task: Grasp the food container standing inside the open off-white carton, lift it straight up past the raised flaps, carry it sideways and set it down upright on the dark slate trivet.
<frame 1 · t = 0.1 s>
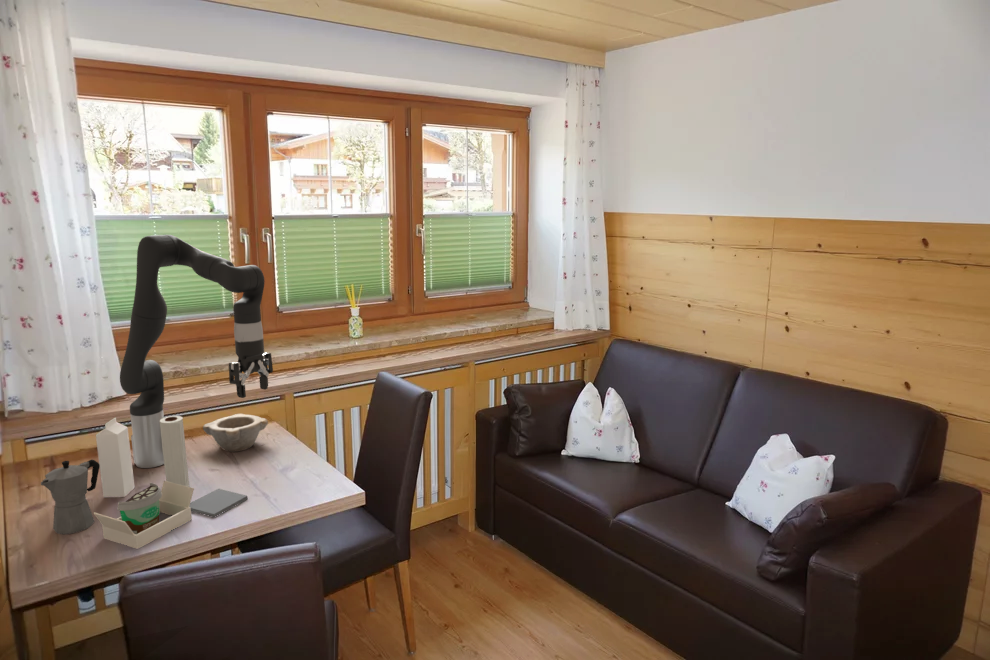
hand: (253, 393, 189), 29 cm above the table, tool pointing down, fingers open, 8 cm apart
food container: (149, 529, 172), resting in carton
paper towel roll: (177, 489, 195), on the table
coffeepot: (78, 524, 174), on the table
mortar: (237, 447, 227), on the table
trivet: (216, 504, 186), on the table
milk: (119, 493, 192), on the table
carton: (149, 528, 172), on the table
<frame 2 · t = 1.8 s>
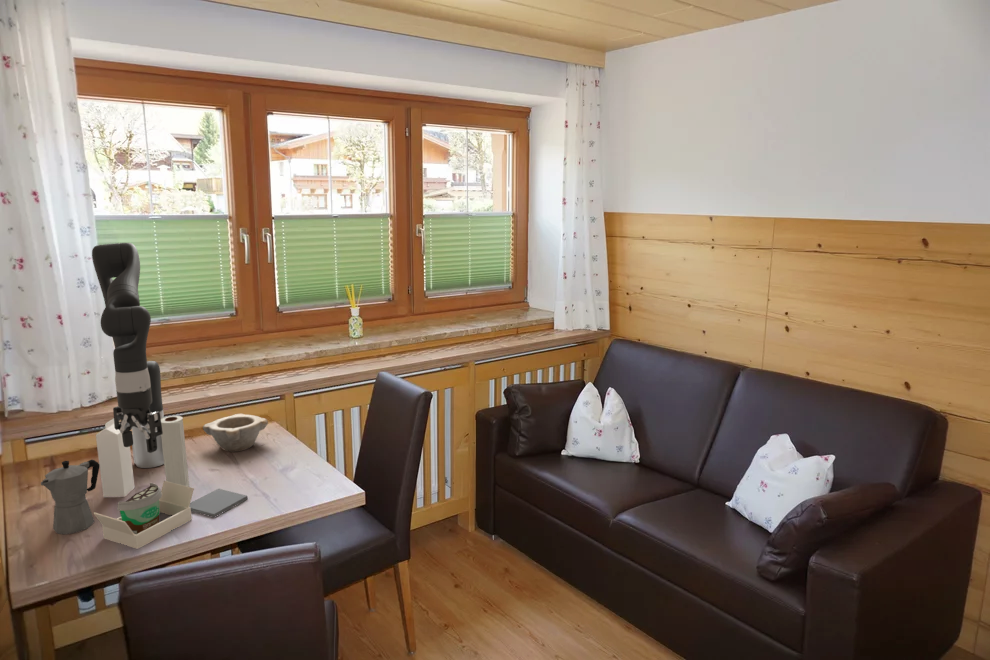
hand: (140, 448, 168), 22 cm above the table, tool pointing down, fingers open, 8 cm apart
nothing on the table moved.
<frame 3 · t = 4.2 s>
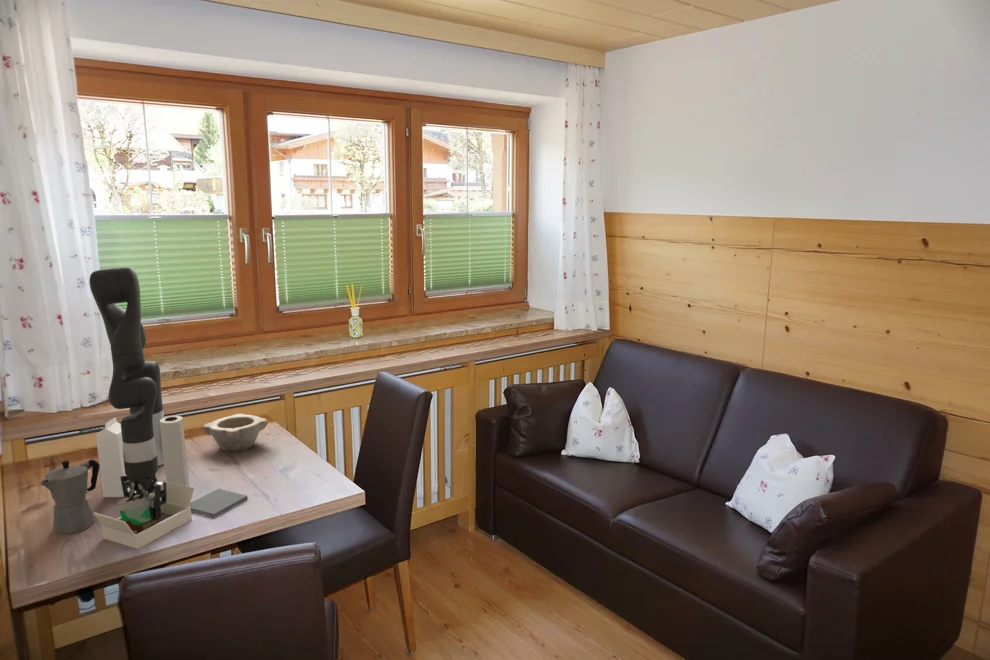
hand: (146, 516, 171), 4 cm above the table, tool pointing down, fingers closed on food container, 6 cm apart
food container: (149, 529, 172), resting in carton, touching gripper
everything else where it was.
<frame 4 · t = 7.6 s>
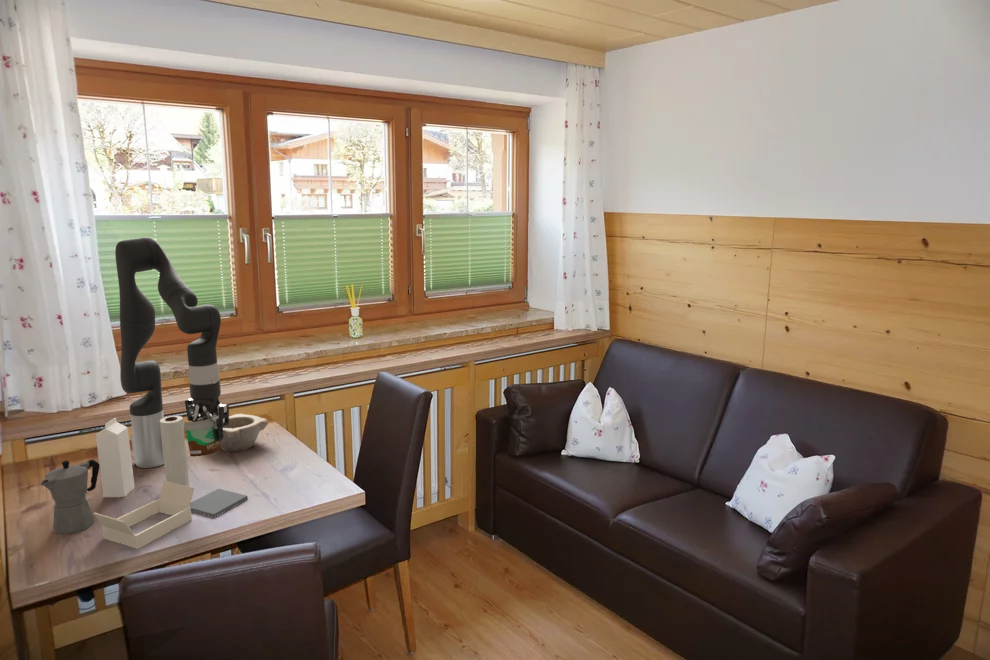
hand: (209, 438, 182), 19 cm above the table, tool pointing down, fingers closed on food container, 6 cm apart
food container: (211, 451, 182), point 16 cm above the table, touching gripper
everything else where it was.
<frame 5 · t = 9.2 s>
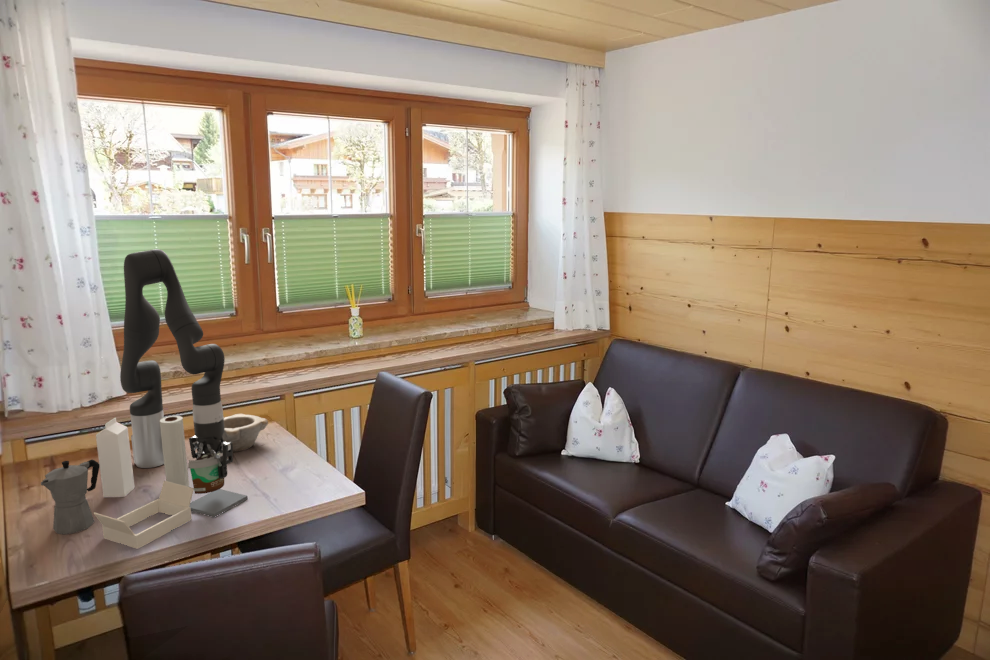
hand: (213, 475, 184), 9 cm above the table, tool pointing down, fingers closed on food container, 6 cm apart
food container: (215, 487, 184), point 5 cm above the table, touching gripper
everything else where it was.
when the fingers open (6 cm above the table, at t = 10.8 s): food container stays where it is, resting on trivet.
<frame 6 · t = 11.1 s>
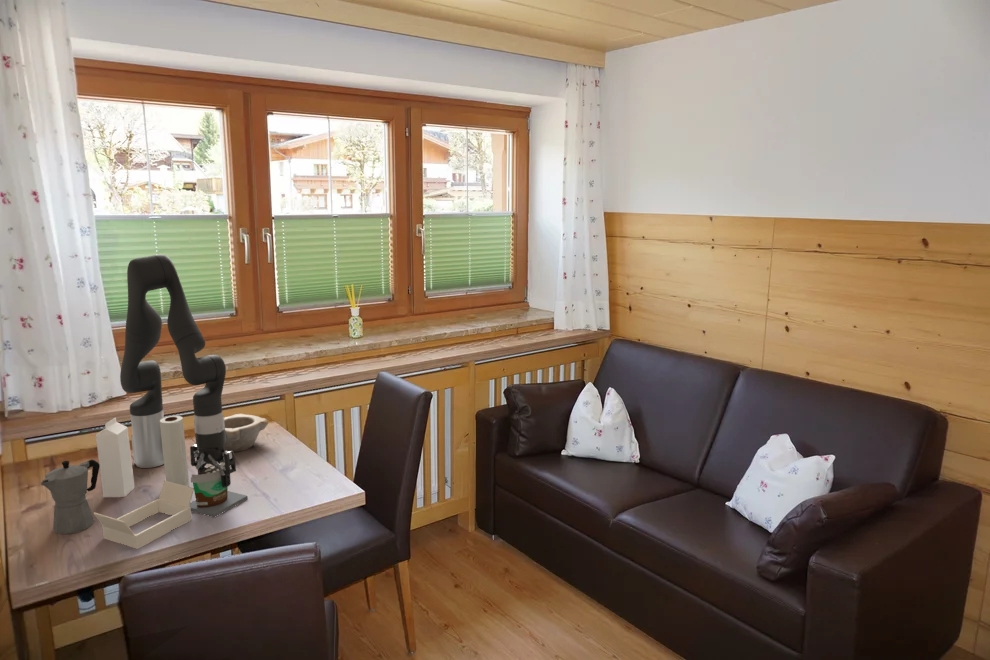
hand: (214, 483, 184), 6 cm above the table, tool pointing down, fingers open, 8 cm apart
food container: (218, 501, 185), point 1 cm above the table, touching trivet
everything else where it was.
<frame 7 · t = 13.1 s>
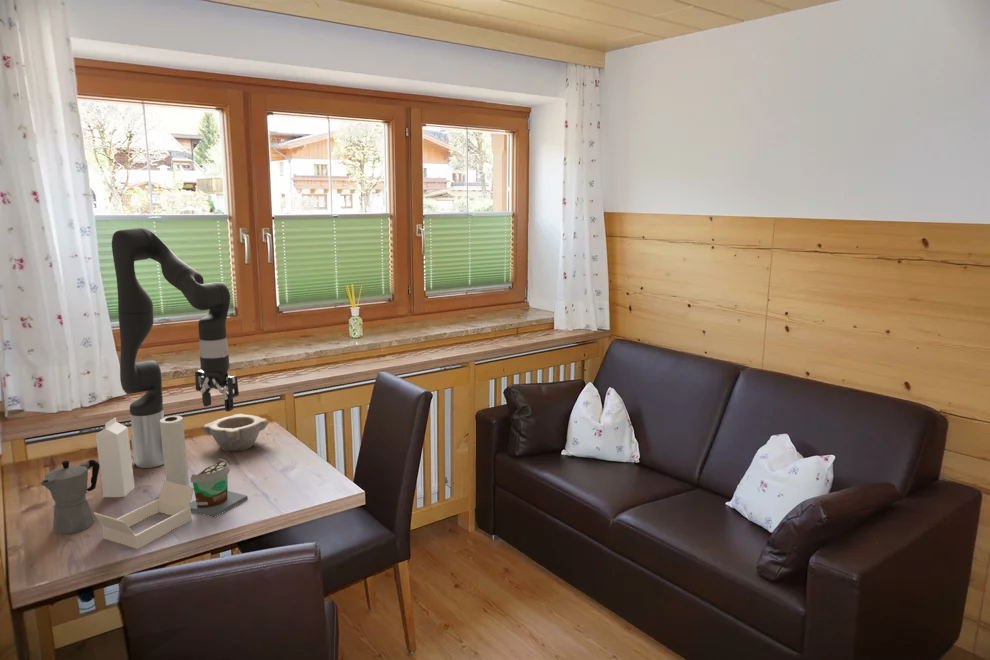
hand: (218, 408, 191), 24 cm above the table, tool pointing down, fingers open, 8 cm apart
nothing on the table moved.
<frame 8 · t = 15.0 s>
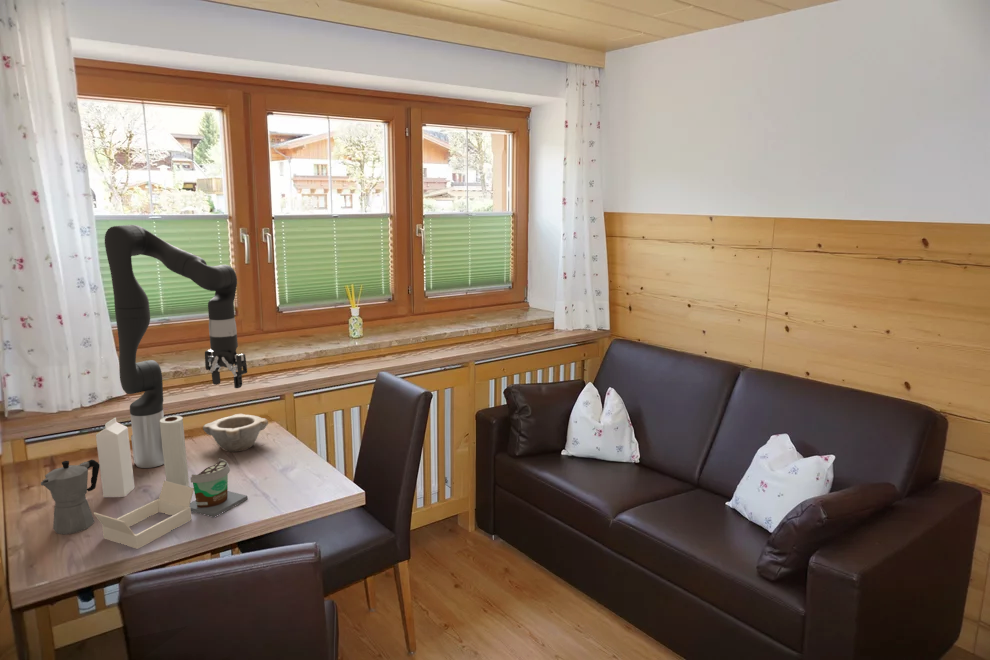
hand: (227, 385, 200), 28 cm above the table, tool pointing down, fingers open, 8 cm apart
nothing on the table moved.
at the end: food container inside the target area on the trivet (0.7 cm from its centre), point 0.8 cm above the trivet's base; food container tilted 0°; the gripper is holding nothing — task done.
